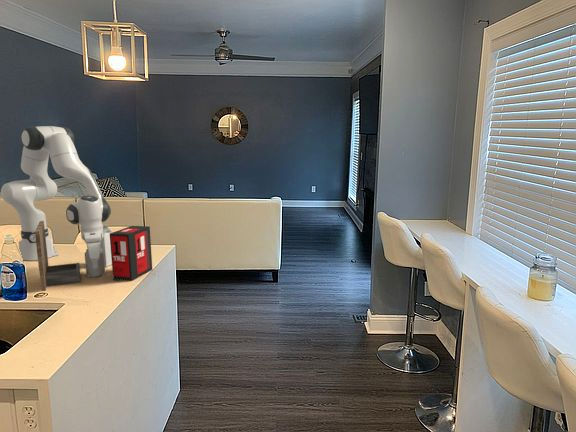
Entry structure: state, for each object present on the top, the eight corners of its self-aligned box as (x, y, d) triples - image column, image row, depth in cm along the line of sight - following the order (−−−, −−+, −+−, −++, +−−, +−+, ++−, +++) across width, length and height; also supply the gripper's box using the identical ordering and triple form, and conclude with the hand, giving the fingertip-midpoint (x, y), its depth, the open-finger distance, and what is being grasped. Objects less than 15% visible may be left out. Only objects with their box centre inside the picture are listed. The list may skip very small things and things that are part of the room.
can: (98, 278, 196) (96, 251, 194) (82, 277, 197) (80, 250, 195) (108, 273, 203) (106, 246, 201) (93, 272, 205) (91, 246, 202)
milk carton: (106, 267, 212) (103, 227, 209) (92, 266, 214) (89, 226, 210) (115, 263, 219) (112, 224, 216) (101, 262, 220) (98, 223, 217)
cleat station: (45, 274, 202) (39, 220, 198) (80, 270, 208) (75, 218, 203) (41, 291, 181) (34, 231, 176) (80, 286, 186) (74, 228, 182)
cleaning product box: (134, 268, 210) (131, 225, 206) (152, 269, 208) (149, 226, 204) (113, 279, 194) (109, 233, 191) (131, 281, 192) (128, 234, 189)
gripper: (84, 230, 205) (86, 259, 208) (84, 239, 187) (87, 272, 189) (99, 228, 208) (101, 258, 210) (101, 238, 189) (103, 270, 192)
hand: (95, 265), depth 199 cm, fingers open, 8 cm apart
